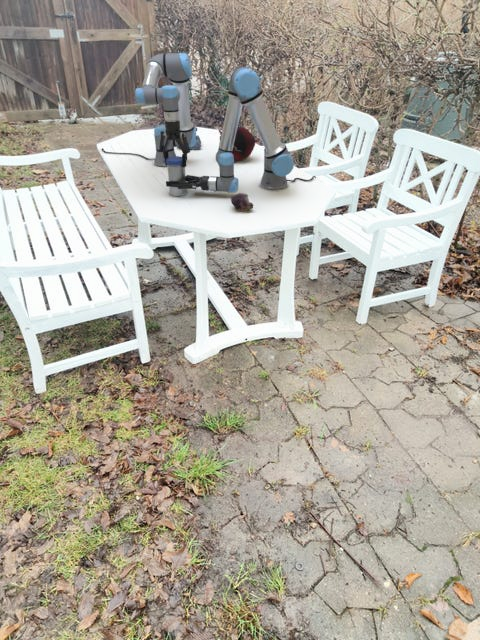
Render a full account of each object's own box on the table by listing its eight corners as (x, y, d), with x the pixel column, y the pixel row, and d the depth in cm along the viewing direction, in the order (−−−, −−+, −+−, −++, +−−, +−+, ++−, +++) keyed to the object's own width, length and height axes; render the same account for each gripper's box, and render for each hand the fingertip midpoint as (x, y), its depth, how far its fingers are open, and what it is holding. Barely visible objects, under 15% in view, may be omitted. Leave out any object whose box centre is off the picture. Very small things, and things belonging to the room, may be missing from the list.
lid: (162, 163, 235) (162, 159, 234) (173, 159, 242) (173, 155, 241) (177, 166, 231) (177, 162, 230) (188, 161, 238) (188, 157, 237)
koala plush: (201, 150, 322) (199, 120, 311) (176, 150, 321) (173, 121, 310) (201, 144, 336) (199, 116, 325) (177, 144, 335) (174, 116, 324)
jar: (174, 197, 241) (171, 163, 231) (167, 192, 247) (164, 159, 237) (189, 194, 245) (187, 161, 235) (182, 189, 251) (179, 157, 241)
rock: (244, 206, 231) (227, 209, 227) (243, 189, 228) (226, 192, 224) (256, 210, 222) (238, 213, 218) (255, 192, 218) (237, 195, 214)
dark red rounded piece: (216, 132, 305) (216, 129, 282) (250, 124, 304) (252, 121, 281) (223, 164, 312) (223, 164, 288) (256, 157, 311) (259, 156, 288)
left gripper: (148, 120, 226) (154, 165, 238) (188, 123, 219) (191, 169, 231) (156, 117, 231) (161, 161, 244) (195, 120, 224) (198, 166, 237)
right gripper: (204, 197, 232) (163, 194, 237) (215, 184, 250) (176, 181, 254) (203, 182, 228) (161, 180, 232) (214, 170, 246) (175, 168, 250)
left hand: (176, 165), depth 238 cm, fingers closed on lid, 10 cm apart
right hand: (169, 180), depth 243 cm, fingers closed on jar, 9 cm apart
